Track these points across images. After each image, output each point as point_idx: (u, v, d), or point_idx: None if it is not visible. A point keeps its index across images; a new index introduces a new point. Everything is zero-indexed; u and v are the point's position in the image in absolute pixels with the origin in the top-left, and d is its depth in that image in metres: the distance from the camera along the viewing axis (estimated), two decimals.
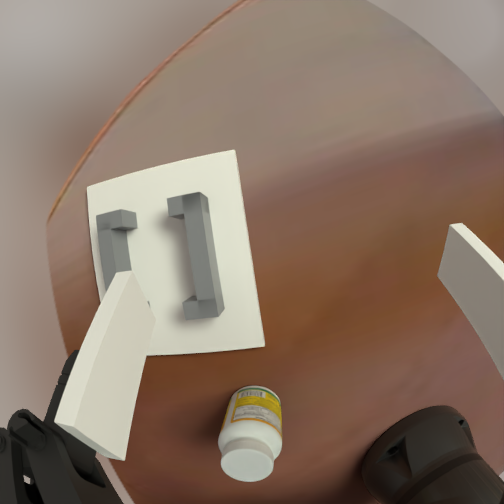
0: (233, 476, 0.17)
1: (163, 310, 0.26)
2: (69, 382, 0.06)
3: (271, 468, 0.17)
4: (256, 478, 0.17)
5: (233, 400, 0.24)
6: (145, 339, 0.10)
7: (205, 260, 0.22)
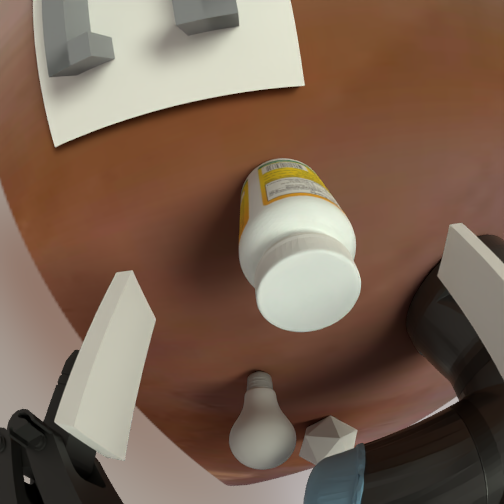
0: (279, 323, 0.11)
1: (133, 44, 0.12)
2: (69, 382, 0.06)
3: (356, 296, 0.10)
4: (324, 323, 0.11)
5: (253, 179, 0.16)
6: (145, 339, 0.10)
7: None
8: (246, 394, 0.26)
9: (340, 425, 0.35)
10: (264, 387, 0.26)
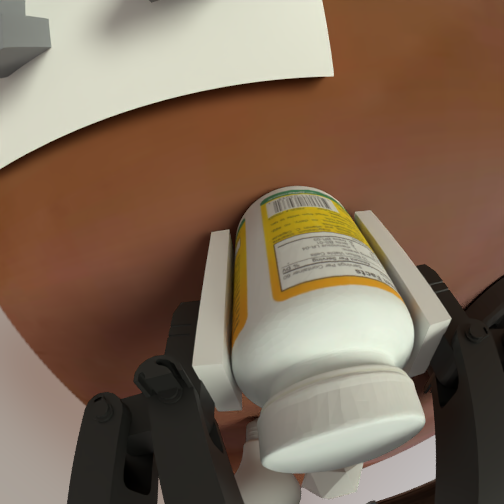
0: (294, 472, 0.06)
1: (75, 23, 0.06)
2: (199, 324, 0.08)
3: (410, 438, 0.05)
4: (357, 462, 0.06)
5: (253, 224, 0.10)
6: None
7: None
8: (245, 446, 0.21)
9: None
10: None
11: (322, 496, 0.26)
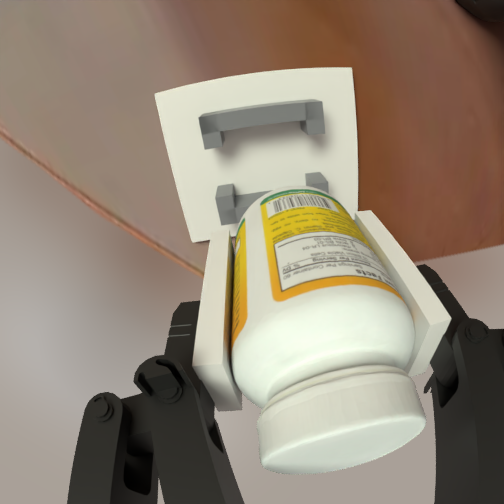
0: (295, 473, 0.06)
1: (314, 159, 0.26)
2: (199, 324, 0.08)
3: (411, 439, 0.05)
4: (358, 463, 0.06)
5: (253, 224, 0.10)
6: None
7: (266, 109, 0.21)
8: None
9: None
10: None
11: None
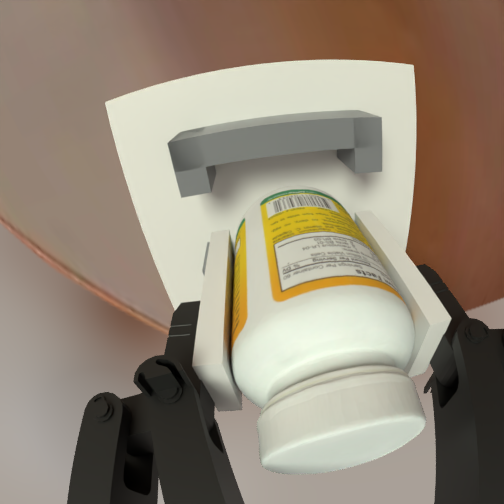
0: (295, 473, 0.06)
1: (353, 203, 0.17)
2: (199, 324, 0.08)
3: (411, 439, 0.05)
4: (358, 463, 0.06)
5: (253, 224, 0.10)
6: None
7: (288, 127, 0.12)
8: None
9: None
10: None
11: None
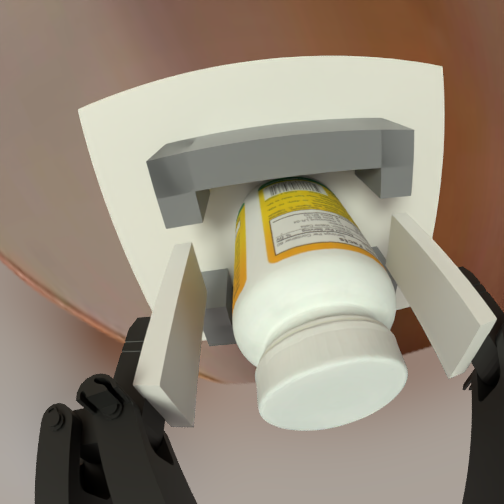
0: (290, 427, 0.07)
1: (370, 227, 0.15)
2: (145, 343, 0.07)
3: (396, 393, 0.06)
4: (349, 420, 0.07)
5: (252, 206, 0.11)
6: (202, 309, 0.11)
7: (301, 141, 0.09)
8: None
9: None
10: None
11: None
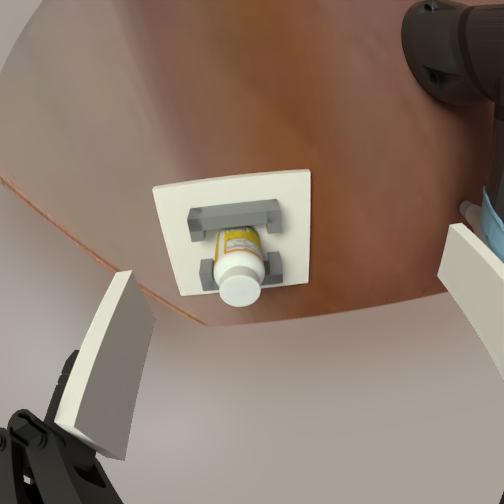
0: (228, 302, 0.28)
1: (274, 242, 0.36)
2: (68, 381, 0.06)
3: (259, 293, 0.28)
4: (247, 303, 0.28)
5: (222, 235, 0.32)
6: (145, 339, 0.10)
7: (237, 216, 0.30)
8: None
9: None
10: (467, 210, 0.33)
11: None
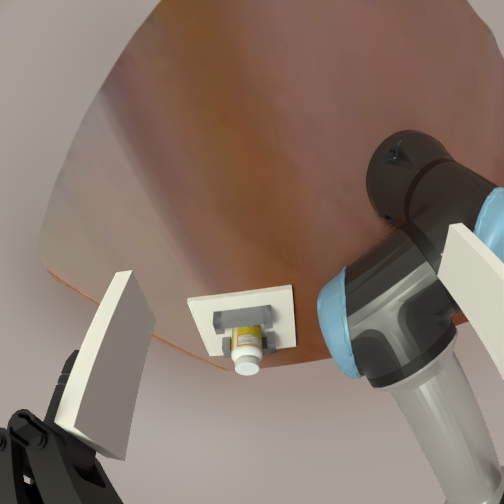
0: (241, 373, 0.45)
1: None
2: (68, 382, 0.06)
3: (258, 369, 0.44)
4: (251, 373, 0.45)
5: (235, 329, 0.49)
6: (145, 339, 0.10)
7: (244, 321, 0.47)
8: None
9: None
10: None
11: None
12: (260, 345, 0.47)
